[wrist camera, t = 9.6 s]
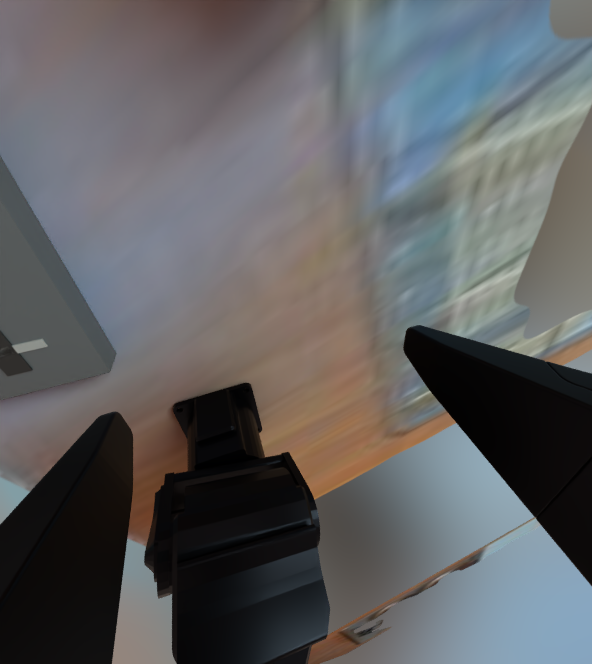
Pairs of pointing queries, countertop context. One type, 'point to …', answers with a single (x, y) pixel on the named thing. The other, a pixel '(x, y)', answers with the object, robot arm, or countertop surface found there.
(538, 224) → the countertop surface
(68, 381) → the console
